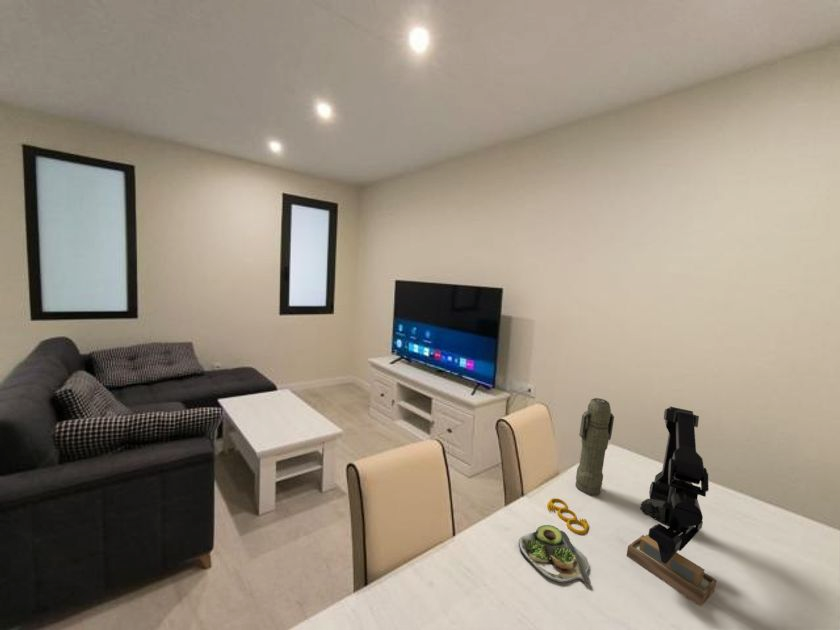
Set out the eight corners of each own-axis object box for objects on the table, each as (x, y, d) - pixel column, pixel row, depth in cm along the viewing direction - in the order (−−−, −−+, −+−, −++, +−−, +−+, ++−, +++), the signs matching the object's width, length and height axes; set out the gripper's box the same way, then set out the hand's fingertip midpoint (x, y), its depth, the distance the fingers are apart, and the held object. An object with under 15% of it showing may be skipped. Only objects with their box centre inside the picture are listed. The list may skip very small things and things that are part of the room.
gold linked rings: (567, 536, 109) (596, 535, 111) (567, 532, 109) (597, 530, 111) (540, 502, 125) (566, 501, 127) (541, 498, 125) (567, 497, 127)
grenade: (566, 482, 138) (578, 396, 134) (592, 480, 141) (605, 396, 137) (581, 496, 130) (595, 405, 125) (609, 494, 132) (622, 404, 128)
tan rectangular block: (645, 545, 104) (646, 534, 104) (702, 581, 93) (704, 569, 93) (639, 549, 102) (640, 538, 102) (696, 587, 91) (699, 575, 90)
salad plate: (610, 579, 94) (612, 564, 94) (560, 601, 87) (563, 584, 86) (555, 529, 112) (557, 516, 111) (510, 543, 104) (511, 529, 104)
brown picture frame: (641, 544, 108) (643, 534, 107) (714, 590, 93) (716, 580, 93) (626, 555, 103) (628, 545, 102) (701, 606, 88) (703, 595, 88)
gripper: (662, 478, 107) (654, 526, 109) (632, 496, 97) (623, 548, 99) (707, 499, 98) (697, 551, 100) (679, 521, 88) (669, 578, 89)
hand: (671, 556), depth 97 cm, fingers open, 9 cm apart
